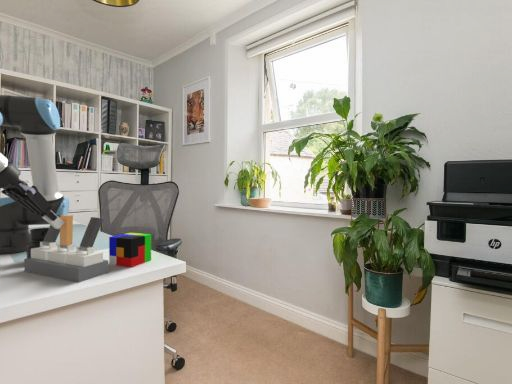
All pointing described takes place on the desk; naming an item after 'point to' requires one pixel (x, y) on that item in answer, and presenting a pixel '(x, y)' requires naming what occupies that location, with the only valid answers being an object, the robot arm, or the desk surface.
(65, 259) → the block
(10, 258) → the desk surface
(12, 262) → the desk surface
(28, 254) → the ink bottle
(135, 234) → the puzzle toy
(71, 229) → the lever
